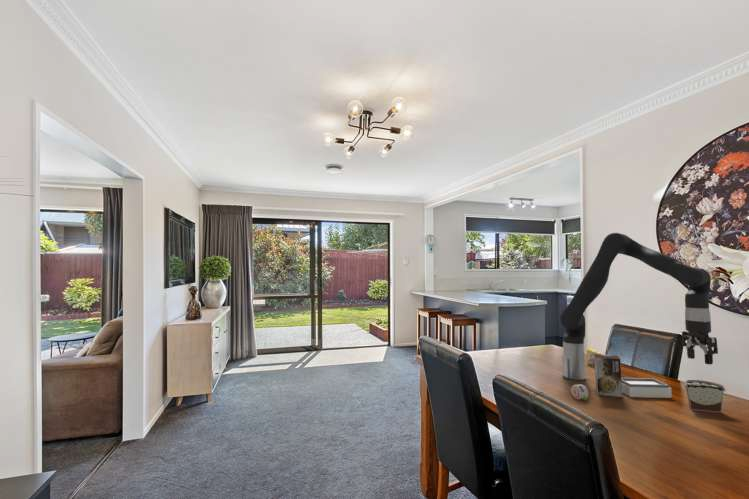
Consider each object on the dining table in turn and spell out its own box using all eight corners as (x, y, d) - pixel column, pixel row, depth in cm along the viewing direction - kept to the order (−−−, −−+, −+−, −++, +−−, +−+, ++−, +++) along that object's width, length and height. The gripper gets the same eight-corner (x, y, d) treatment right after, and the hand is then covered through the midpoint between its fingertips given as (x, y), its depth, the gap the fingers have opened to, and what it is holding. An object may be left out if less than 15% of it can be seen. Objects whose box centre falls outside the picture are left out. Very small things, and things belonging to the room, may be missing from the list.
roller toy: (580, 402, 149) (579, 387, 149) (569, 396, 155) (568, 382, 155) (589, 401, 149) (589, 386, 150) (578, 395, 156) (578, 382, 156)
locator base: (630, 396, 154) (629, 384, 154) (615, 388, 164) (615, 377, 165) (671, 397, 152) (671, 385, 152) (654, 389, 163) (653, 377, 163)
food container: (717, 407, 142) (716, 381, 143) (726, 413, 136) (725, 386, 137) (678, 403, 146) (677, 378, 147) (686, 409, 140) (685, 382, 141)
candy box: (586, 363, 206) (586, 349, 206) (590, 363, 206) (589, 348, 206) (608, 372, 190) (607, 356, 190) (612, 372, 190) (611, 355, 190)
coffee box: (619, 392, 159) (618, 355, 159) (622, 397, 153) (621, 358, 154) (595, 390, 162) (594, 353, 163) (597, 394, 157) (595, 356, 157)
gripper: (674, 316, 150) (676, 356, 150) (702, 321, 136) (704, 366, 135) (693, 316, 150) (695, 356, 149) (723, 322, 136) (726, 366, 135)
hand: (699, 361), depth 142 cm, fingers open, 8 cm apart
